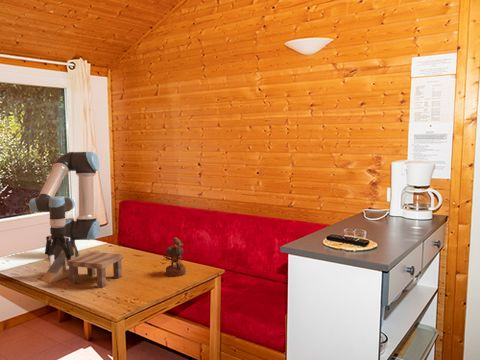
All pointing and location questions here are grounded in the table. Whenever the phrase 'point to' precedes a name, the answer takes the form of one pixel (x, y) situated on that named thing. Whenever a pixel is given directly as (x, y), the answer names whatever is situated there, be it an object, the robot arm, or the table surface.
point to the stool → (95, 266)
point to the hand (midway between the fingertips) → (60, 268)
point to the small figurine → (175, 260)
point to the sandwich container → (57, 269)
